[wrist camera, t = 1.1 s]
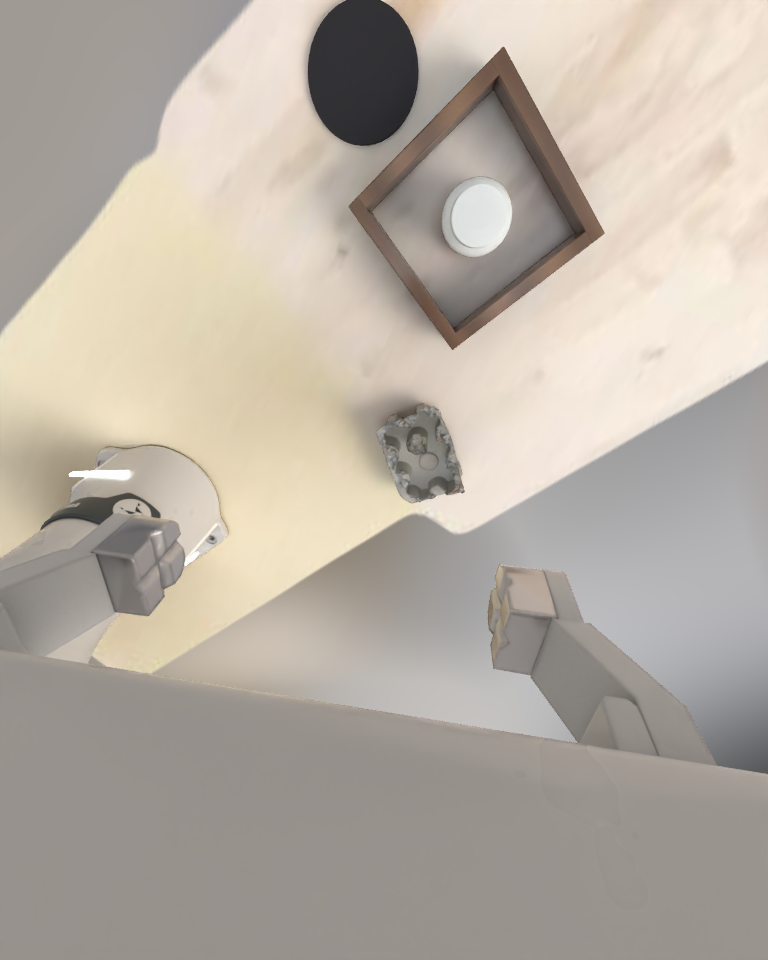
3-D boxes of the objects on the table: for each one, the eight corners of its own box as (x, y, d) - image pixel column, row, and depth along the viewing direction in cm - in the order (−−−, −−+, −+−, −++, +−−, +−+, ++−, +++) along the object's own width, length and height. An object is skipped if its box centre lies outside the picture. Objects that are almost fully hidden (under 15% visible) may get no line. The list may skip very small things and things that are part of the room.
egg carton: (466, 479, 51) (468, 496, 48) (406, 494, 53) (404, 512, 50) (440, 396, 47) (440, 408, 43) (376, 416, 49) (371, 430, 45)
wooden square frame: (451, 341, 44) (452, 350, 41) (356, 210, 40) (348, 206, 36) (589, 234, 38) (604, 233, 35) (497, 67, 34) (503, 45, 30)
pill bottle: (467, 172, 37) (474, 150, 29) (514, 211, 38) (535, 201, 30) (429, 232, 40) (426, 228, 31) (475, 268, 41) (484, 273, 32)
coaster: (370, 171, 38) (369, 171, 38) (288, 87, 36) (286, 86, 36) (441, 65, 34) (441, 63, 34) (354, -36, 32) (353, -39, 32)
